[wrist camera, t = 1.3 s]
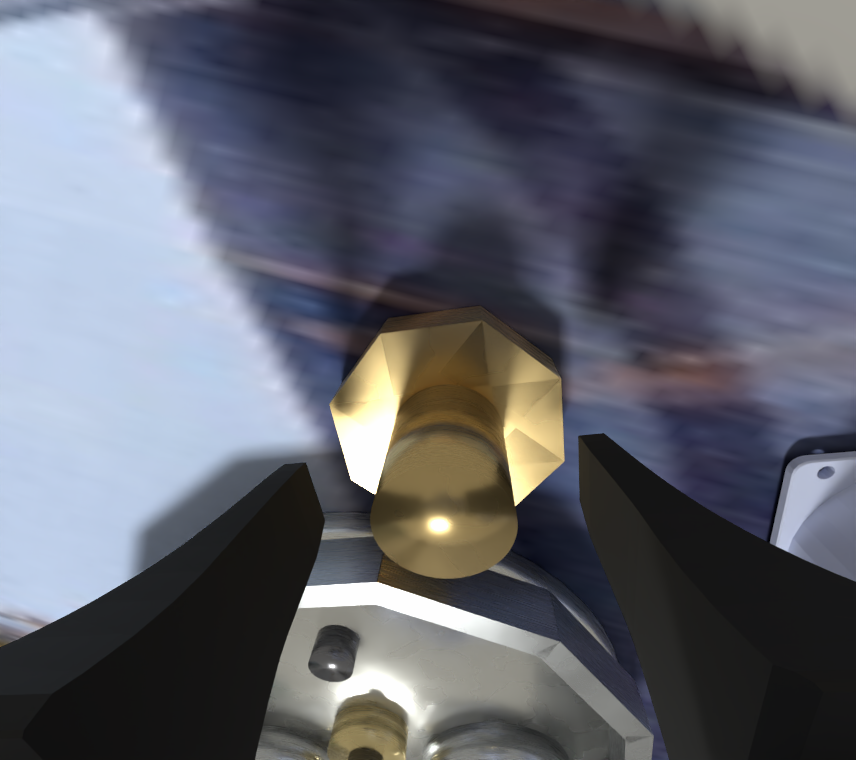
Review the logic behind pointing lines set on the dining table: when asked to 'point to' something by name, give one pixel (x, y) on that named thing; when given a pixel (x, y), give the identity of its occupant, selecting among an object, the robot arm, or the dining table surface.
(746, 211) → the dining table surface
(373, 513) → the brass octagonal knob
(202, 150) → the dining table surface
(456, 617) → the tray
